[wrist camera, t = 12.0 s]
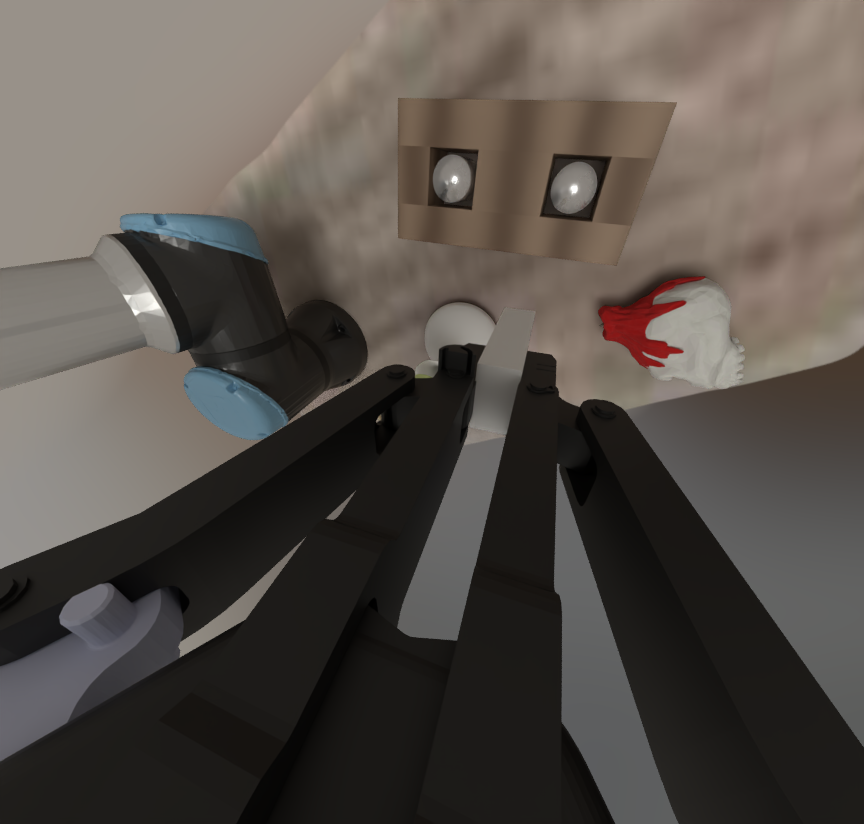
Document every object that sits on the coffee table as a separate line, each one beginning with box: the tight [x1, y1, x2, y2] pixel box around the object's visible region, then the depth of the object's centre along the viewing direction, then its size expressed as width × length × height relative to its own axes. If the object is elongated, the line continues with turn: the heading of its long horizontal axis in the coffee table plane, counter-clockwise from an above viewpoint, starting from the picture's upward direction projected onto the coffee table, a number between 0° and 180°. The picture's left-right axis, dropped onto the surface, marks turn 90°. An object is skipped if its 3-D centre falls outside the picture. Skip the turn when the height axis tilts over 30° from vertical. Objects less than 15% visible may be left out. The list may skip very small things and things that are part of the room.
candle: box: [598, 276, 745, 389], centre depth 36 cm, size 9×11×15 cm
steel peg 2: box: [551, 162, 597, 214], centre depth 32 cm, size 4×4×6 cm
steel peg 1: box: [433, 155, 477, 203], centre depth 35 cm, size 4×4×6 cm
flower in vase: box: [378, 302, 496, 421], centre depth 39 cm, size 13×11×25 cm
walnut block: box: [398, 98, 677, 266], centre depth 34 cm, size 24×12×6 cm, turn 86°
